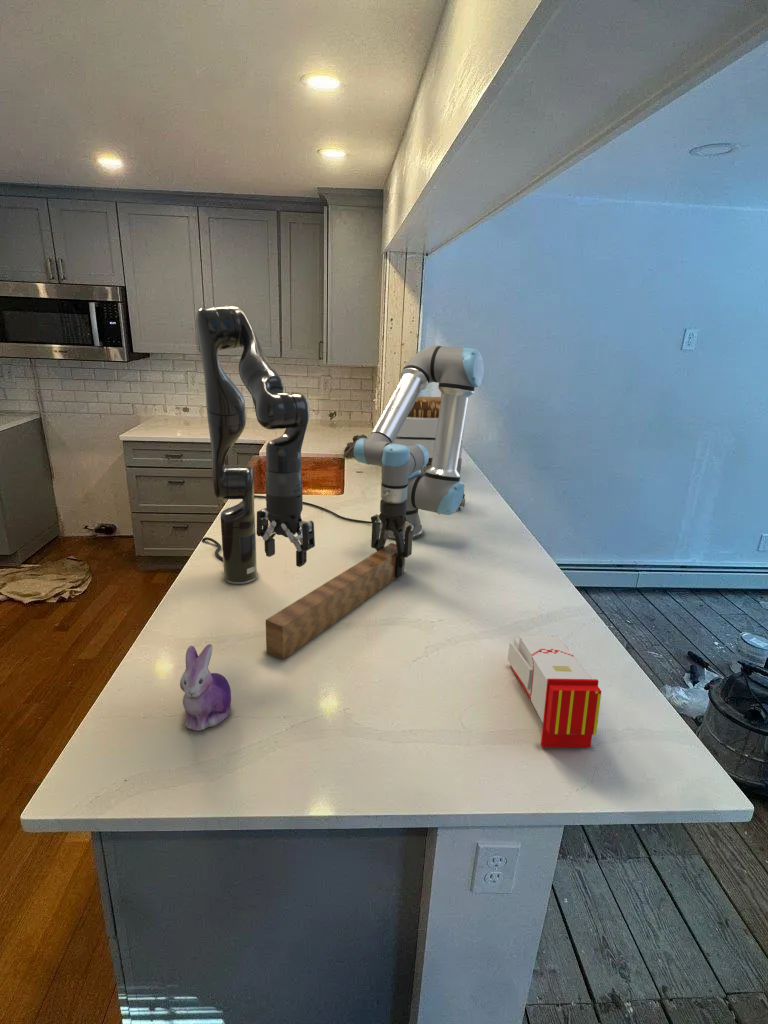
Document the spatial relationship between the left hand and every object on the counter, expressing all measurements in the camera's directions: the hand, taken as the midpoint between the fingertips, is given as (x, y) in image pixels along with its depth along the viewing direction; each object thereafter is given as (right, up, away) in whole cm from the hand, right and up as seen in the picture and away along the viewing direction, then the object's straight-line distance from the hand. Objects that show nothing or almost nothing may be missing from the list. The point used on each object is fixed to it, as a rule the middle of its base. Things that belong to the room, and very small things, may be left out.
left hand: (285, 560), depth 124 cm
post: (+11, -15, +26) cm, 32 cm away
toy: (+54, -28, -6) cm, 62 cm away
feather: (-18, +9, +88) cm, 90 cm away
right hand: (+23, -8, +45) cm, 51 cm away
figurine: (-12, -29, -15) cm, 34 cm away
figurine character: (+50, +13, +107) cm, 118 cm away
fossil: (+6, +42, +182) cm, 187 cm away
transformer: (+39, +29, +151) cm, 159 cm away
